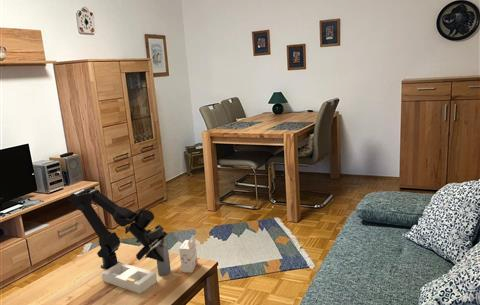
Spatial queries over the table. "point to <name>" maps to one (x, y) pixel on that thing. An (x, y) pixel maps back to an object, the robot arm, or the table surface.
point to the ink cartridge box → (188, 255)
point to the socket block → (129, 277)
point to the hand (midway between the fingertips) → (165, 258)
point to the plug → (165, 265)
